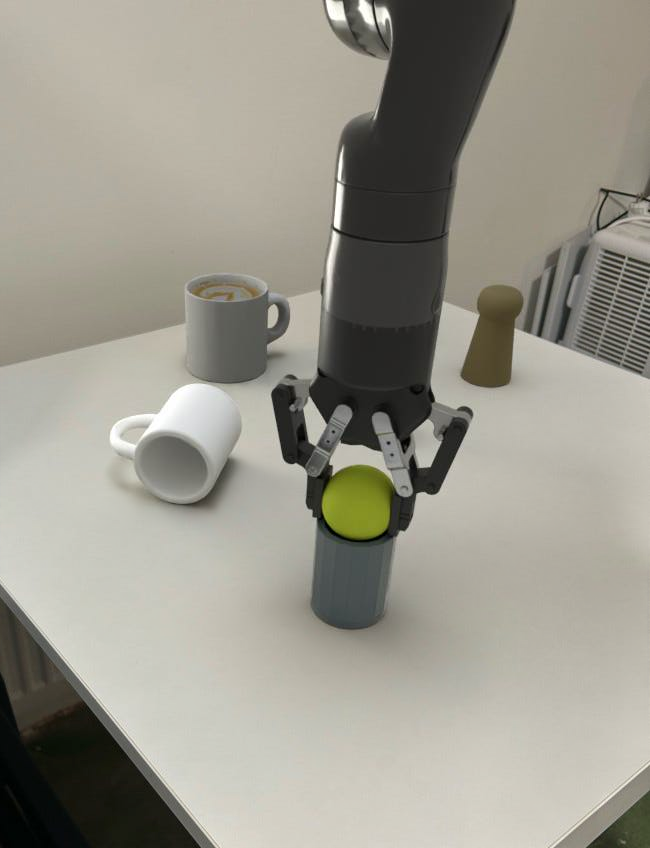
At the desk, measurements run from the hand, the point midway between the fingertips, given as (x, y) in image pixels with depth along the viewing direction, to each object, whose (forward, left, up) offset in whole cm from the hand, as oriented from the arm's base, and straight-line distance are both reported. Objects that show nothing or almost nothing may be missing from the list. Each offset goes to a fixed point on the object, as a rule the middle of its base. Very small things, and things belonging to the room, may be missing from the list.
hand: (357, 520), depth 62 cm
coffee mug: (+26, -39, -8) cm, 48 cm away
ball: (0, 0, +2) cm, 2 cm away
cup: (0, 0, -8) cm, 8 cm away
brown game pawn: (-3, -48, -8) cm, 49 cm away
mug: (+22, -12, -8) cm, 26 cm away
